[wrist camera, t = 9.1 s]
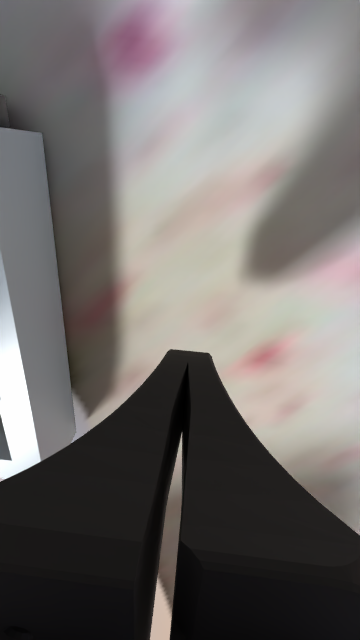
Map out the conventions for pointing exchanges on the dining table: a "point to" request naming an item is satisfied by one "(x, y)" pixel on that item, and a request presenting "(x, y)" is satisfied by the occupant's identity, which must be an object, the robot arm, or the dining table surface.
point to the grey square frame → (29, 310)
